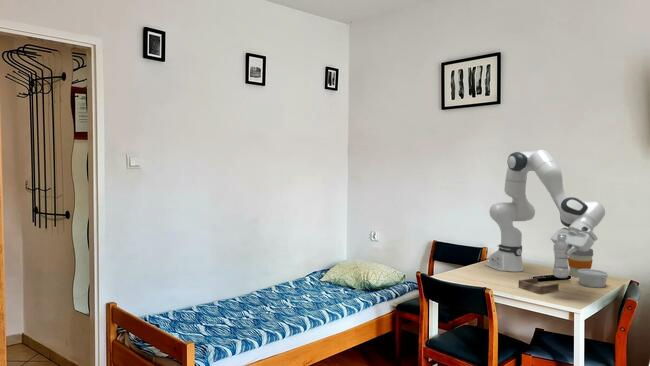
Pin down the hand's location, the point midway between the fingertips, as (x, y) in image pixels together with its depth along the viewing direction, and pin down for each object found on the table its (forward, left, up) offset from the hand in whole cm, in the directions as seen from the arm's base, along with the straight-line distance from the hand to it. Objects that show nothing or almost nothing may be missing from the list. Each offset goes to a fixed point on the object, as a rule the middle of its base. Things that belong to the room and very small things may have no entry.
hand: (561, 252), depth 216 cm
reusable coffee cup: (-23, +46, -21) cm, 55 cm away
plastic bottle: (0, 0, -12) cm, 12 cm away
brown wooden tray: (-14, +3, -21) cm, 25 cm away
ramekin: (-8, +35, -22) cm, 41 cm away
